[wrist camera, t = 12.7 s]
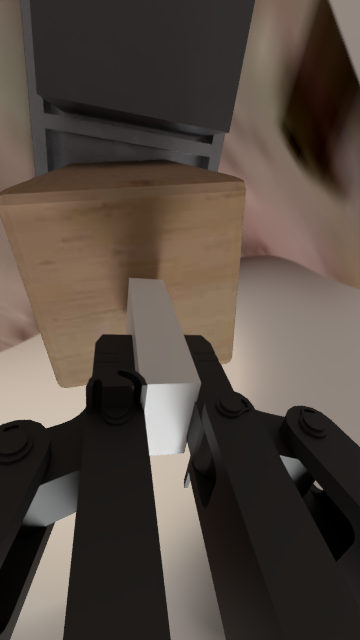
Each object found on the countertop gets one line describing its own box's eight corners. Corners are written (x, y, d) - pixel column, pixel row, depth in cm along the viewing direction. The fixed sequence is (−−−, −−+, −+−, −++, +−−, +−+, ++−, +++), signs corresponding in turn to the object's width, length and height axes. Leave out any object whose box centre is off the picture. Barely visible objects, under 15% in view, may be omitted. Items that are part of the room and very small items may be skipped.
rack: (52, 272, 33) (28, 322, 24) (30, -32, 21) (-35, -169, 12) (191, 282, 37) (216, 327, 28) (237, 29, 25) (307, -38, 16)
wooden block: (66, 163, 27) (-14, 191, 10) (170, 159, 28) (251, 177, 12) (87, 264, 32) (57, 393, 15) (174, 256, 34) (234, 365, 17)
